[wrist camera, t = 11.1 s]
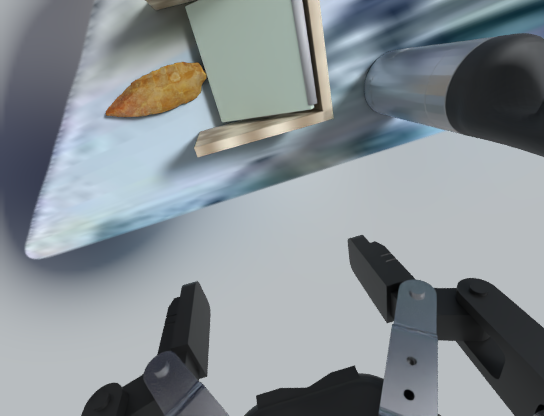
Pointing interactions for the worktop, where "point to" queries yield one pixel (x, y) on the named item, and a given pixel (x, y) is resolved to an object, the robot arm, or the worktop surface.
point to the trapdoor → (254, 56)
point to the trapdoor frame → (277, 123)
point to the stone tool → (160, 91)
